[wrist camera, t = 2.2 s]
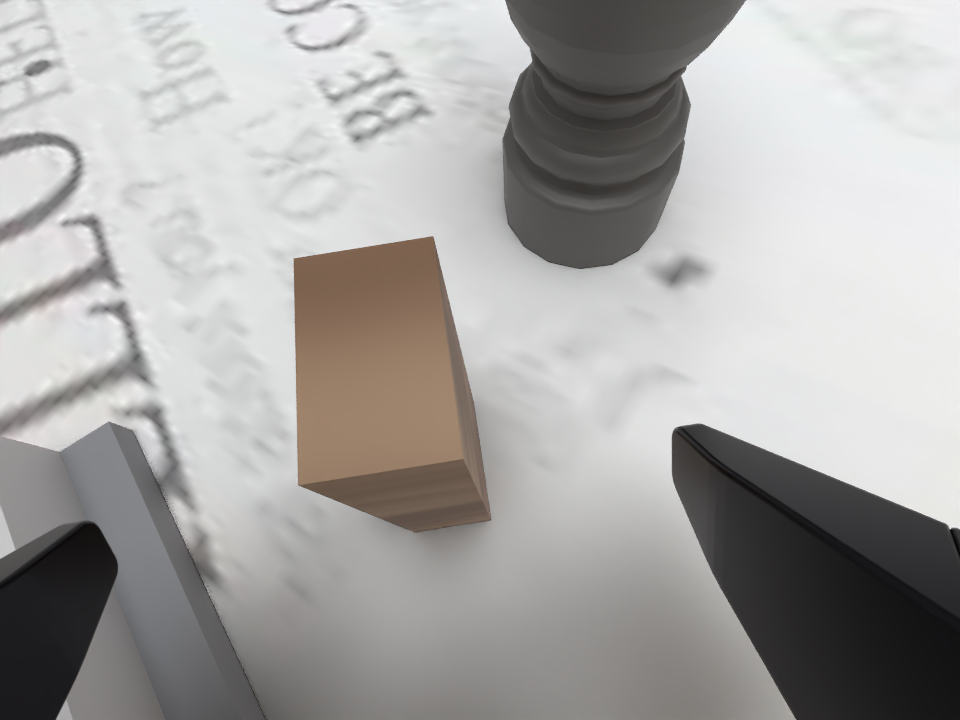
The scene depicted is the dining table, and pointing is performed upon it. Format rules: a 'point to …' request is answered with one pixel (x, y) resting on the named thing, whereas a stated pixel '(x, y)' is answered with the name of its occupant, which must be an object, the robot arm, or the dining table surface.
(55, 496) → the grey long channel piece
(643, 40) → the candle holder
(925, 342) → the dining table surface
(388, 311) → the brown wooden block
